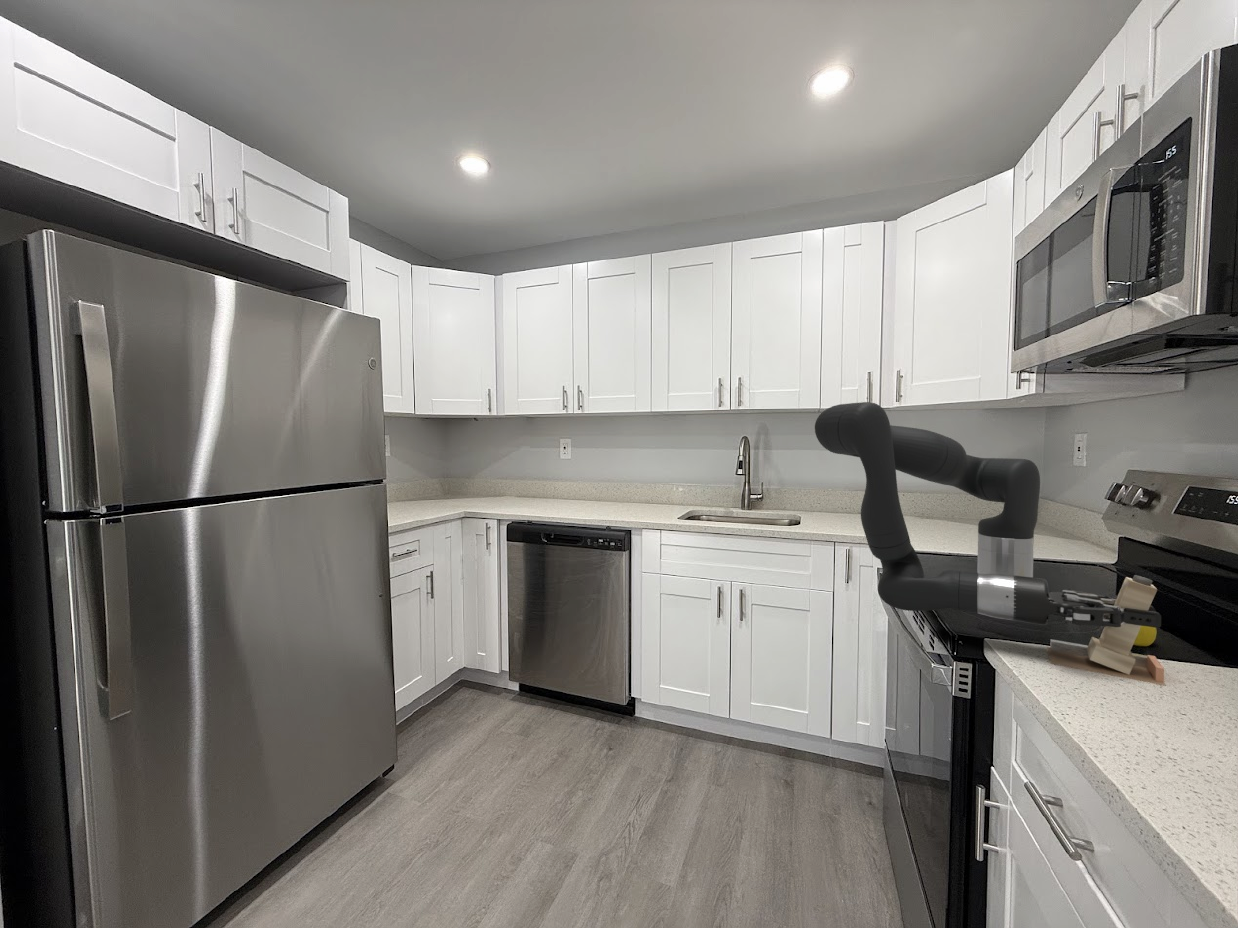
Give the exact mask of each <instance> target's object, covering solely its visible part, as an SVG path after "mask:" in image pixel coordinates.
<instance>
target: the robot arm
mask: <svg viewBox="0 0 1238 928" xmlns="http://www.w3.org/2000/svg"><path fill="white" fill-rule="evenodd" d="M814 433H815V437H816V438H817V441H818V442H819V444H820V445H821V446H822V447H823V448H824V449H825V450H827V451H829V452H830V453H833V454H837V455H842V456H843V455H845V456H850V457H856V458H859V459H860V461H861V464H862V467H863V469H864V472H865V478H866V479H865V481H866V482H865V489H864V490H865V491H864V494H863V498H862V502H861V506H860V507H861V508H860V519H861V520H860V521H861V525H862V528H863V532H864V535H865V538H866V542H867V543H868V544H867V546H868V548H869V550H870V552H871V554H872V555H873V556H874V557H875V558H877V560H879V561H880V564H881V570H882V572H881V575H880V578H879V582H878V585H877V592H878V595H879V597H880V599H881V600H882V601H883V602H884V603H886V604H887V605H888V606H890V607H892V608H896V609H899V610H901V611H909V612H910V611H912V612H917V611H920V612H921V611H923V612H924V611H941V610H954V611H960V612H966V613H974V614H979V615H983V616H987V617H991V618H995V619H1002V620H1009V621H1014V622H1021V623H1027V624H1034V625H1040V626H1046V625H1047V624H1048V623H1049V616H1050V615H1053V616H1058V617H1061V618H1063V620H1066V621H1070V622H1072V624H1073V625H1076V626H1092V627H1105V626H1107V627H1121V625H1124V624H1125V623H1126V624H1133V625H1140V626H1147V627H1154V628H1156V629H1158V628H1161V627H1162V615H1161V614H1160V613H1159V612H1157V611H1156V608H1154V606H1153V605H1150V607H1149V610H1148V611H1146V610H1138V609H1130V608H1123V607H1121V606H1114V604H1115V601H1116V599H1117V598H1112V597H1111V596H1109V595H1103V594H1098V593H1091V592H1086V591H1081V590H1075V589H1071V588H1065V589H1063V590H1061V591H1062V592H1061V591H1050V590H1049V584H1048V581H1047V580H1046V579H1045V578H1042V577H1041V578H1039V577H1034V537H1035V528H1036V526H1037V522H1038V518H1039V517H1038V515H1039V514H1038V513H1039V501H1040V493H1041V491H1040V490H1041V475H1040V472H1039V468H1038V466H1037V465H1036V463H1035V462H1034V461H1032V460H1031V459H1026V458H1009V457H1008V458H1002V457H1001V458H1000V457H999V458H995V457H994V458H993V457H991V458H989V457H978V456H973V455H970V454H967V451H966V450H965V448H964V446H963V445H962V444H961V443H960V442H959V441H957V440H956V439H953V438H951V437H949V436H945V435H943V434H940V433H938V432H935V431H931V430H927V429H922V428H917V427H909V426H902V425H901V426H899V425H892V424H890V419H889V417H888V415H887V413H886V410H885V409H884V408H883V407H882V406H880V405H879V404H877V403H875V402H871V401H864V402H862V401H861V402H849V403H840V404H836V405H833V406H830V407H828V408H826V409H825V410H823V411H822V412H821V413H820V414H819V415H818V416H817V418H816V420H815V424H814ZM897 471H898V472H901V473H904V474H907V475H910V476H911V477H912V476H913V477H914V478H918V479H921V480H924V481H928V482H932V483H936V484H940V485H944V486H950V487H953V488H954V487H955V488H956V489H959V490H960V491H962V492H965V493H967V494H969V495H971V496H973V497H976V498H977V499H980V500H982V501H986V502H987V501H988V502H995V503H1003V510H1002V511H1001V513H999V514H997V515H995V516H991V517H986V518H983V519H980V520H979V521H978V526H977V565H976V566H977V570H976V572H973V571H964V570H958V569H955V570H954V569H945V570H942V571H941V573H939V575H937V576H936V577H925V574H924V568H923V565H922V563H921V560H920V558H919V556H918V554H917V552H916V550H915V548H914V547H913V545H912V544H911V539H910V535H909V531H908V528H907V525H906V521H905V518H904V515H903V510H902V506H901V502H900V498H899V497H900V496H899V491H898V480H897ZM1109 615H1110V618H1109Z"/></svg>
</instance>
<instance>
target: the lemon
mask: <svg viewBox="0 0 1238 928" xmlns="http://www.w3.org/2000/svg"><path fill="white" fill-rule="evenodd" d="M1156 638H1157V628H1154V627H1147V626H1141V628H1140V630H1139V632H1138V635H1137V637H1136V639H1135V641H1134V644H1133V646H1138V647H1149V646H1150V645H1152V644H1153V643H1154V641H1155V640H1156Z"/></svg>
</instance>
